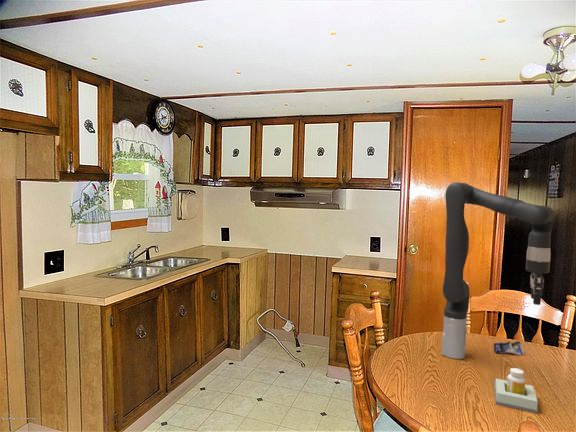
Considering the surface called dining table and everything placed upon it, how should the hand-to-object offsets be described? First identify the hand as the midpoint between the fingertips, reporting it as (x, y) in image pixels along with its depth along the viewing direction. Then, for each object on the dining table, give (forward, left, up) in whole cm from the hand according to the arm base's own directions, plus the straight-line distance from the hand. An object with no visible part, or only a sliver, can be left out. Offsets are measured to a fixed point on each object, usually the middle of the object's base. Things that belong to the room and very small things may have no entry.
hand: (535, 301), depth 147 cm
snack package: (-6, +27, -31) cm, 41 cm away
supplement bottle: (-7, -20, -30) cm, 36 cm away
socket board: (-7, -17, -30) cm, 36 cm away
